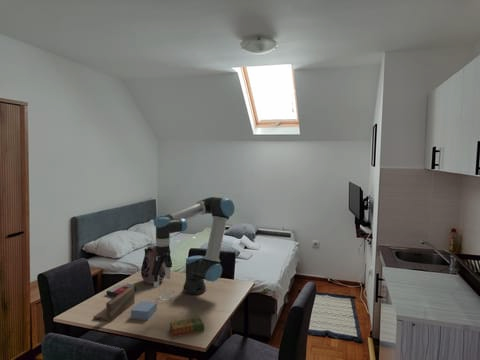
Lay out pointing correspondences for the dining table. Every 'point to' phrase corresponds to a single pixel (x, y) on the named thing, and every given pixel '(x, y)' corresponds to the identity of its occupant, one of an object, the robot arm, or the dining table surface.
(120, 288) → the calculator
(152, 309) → the slate block
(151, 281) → the ceramic pitcher
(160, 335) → the dining table surface
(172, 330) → the carton
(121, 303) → the brown long angled block
